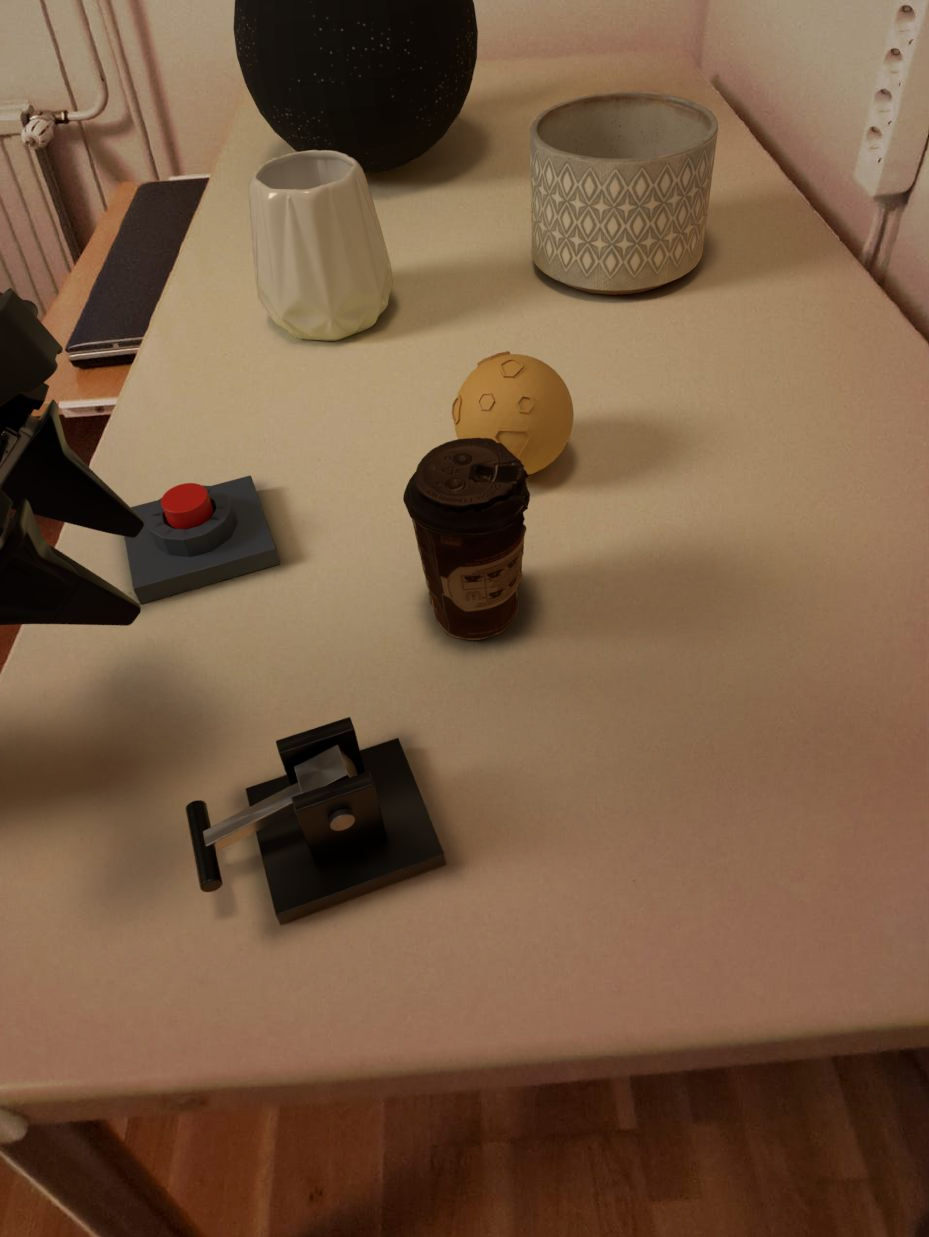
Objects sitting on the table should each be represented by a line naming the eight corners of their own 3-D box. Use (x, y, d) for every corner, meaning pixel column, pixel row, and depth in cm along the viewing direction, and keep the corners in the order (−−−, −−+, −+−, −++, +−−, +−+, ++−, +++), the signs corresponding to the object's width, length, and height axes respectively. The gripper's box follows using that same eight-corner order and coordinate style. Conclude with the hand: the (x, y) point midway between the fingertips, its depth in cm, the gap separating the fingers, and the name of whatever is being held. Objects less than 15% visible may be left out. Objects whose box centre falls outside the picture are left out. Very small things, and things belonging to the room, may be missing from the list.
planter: (728, 244, 105) (748, 105, 95) (655, 319, 95) (668, 174, 85) (581, 213, 113) (585, 82, 103) (500, 280, 103) (494, 142, 93)
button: (170, 534, 72) (163, 517, 71) (164, 507, 74) (157, 489, 73) (216, 522, 73) (210, 504, 72) (209, 495, 75) (203, 477, 74)
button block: (140, 604, 72) (125, 571, 69) (126, 525, 78) (112, 492, 76) (280, 564, 74) (270, 530, 71) (255, 490, 80) (245, 457, 78)
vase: (377, 354, 94) (355, 202, 83) (246, 347, 97) (207, 199, 86) (410, 286, 103) (394, 141, 92) (290, 281, 106) (260, 140, 95)
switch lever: (212, 899, 52) (190, 883, 50) (197, 819, 56) (175, 801, 54) (372, 817, 52) (355, 798, 50) (346, 742, 56) (330, 722, 54)
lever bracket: (280, 925, 53) (250, 861, 48) (249, 798, 59) (220, 729, 54) (446, 864, 55) (435, 797, 50) (400, 748, 61) (386, 676, 56)
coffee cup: (560, 612, 68) (562, 470, 59) (475, 674, 65) (463, 533, 55) (480, 554, 73) (471, 414, 64) (397, 609, 70) (374, 469, 60)
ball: (485, 205, 116) (471, -94, 95) (247, 220, 118) (179, -70, 96) (482, 117, 137) (470, -145, 115) (279, 131, 138) (229, -125, 117)
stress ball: (515, 416, 85) (512, 316, 78) (596, 462, 80) (601, 359, 73) (433, 466, 81) (422, 365, 74) (512, 518, 76) (509, 414, 68)
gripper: (-172, 295, 30) (239, 532, 38) (-60, 203, 46) (218, 387, 54) (-314, 552, 33) (96, 722, 41) (-164, 385, 48) (114, 533, 57)
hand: (138, 569), depth 48 cm, fingers open, 9 cm apart
